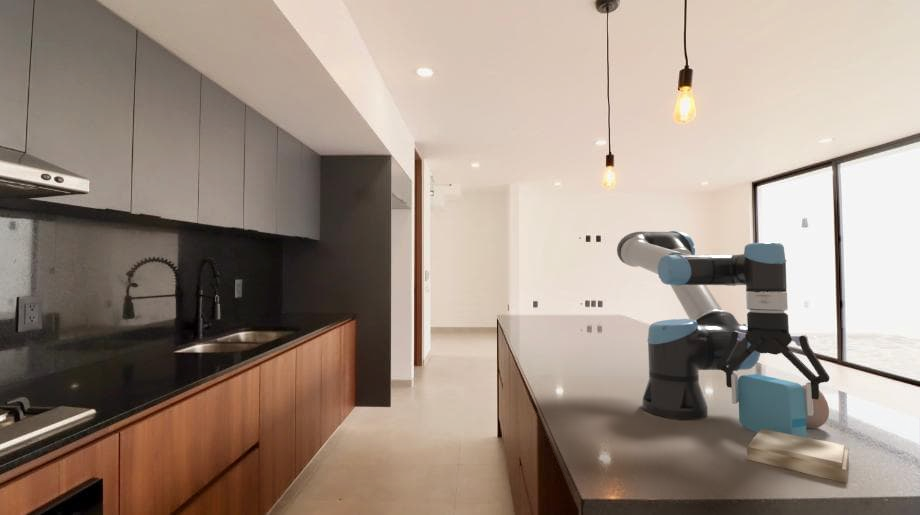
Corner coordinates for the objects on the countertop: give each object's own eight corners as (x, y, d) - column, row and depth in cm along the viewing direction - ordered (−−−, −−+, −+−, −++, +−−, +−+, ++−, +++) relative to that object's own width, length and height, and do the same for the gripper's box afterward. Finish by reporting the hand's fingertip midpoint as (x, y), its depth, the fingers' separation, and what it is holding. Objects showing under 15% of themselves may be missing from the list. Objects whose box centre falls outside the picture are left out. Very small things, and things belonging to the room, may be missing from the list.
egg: (835, 434, 95) (834, 389, 96) (799, 430, 98) (797, 387, 98) (821, 424, 102) (819, 382, 102) (787, 421, 104) (785, 380, 105)
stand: (747, 459, 82) (747, 443, 82) (758, 442, 91) (758, 427, 91) (846, 483, 72) (845, 464, 73) (848, 461, 81) (848, 445, 81)
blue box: (807, 442, 91) (805, 384, 91) (791, 444, 89) (789, 385, 90) (753, 424, 102) (751, 372, 103) (738, 426, 101) (737, 374, 101)
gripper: (700, 309, 103) (703, 401, 102) (839, 314, 86) (846, 424, 85) (709, 308, 108) (712, 395, 107) (841, 313, 91) (847, 415, 90)
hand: (771, 408), depth 96 cm, fingers open, 13 cm apart
